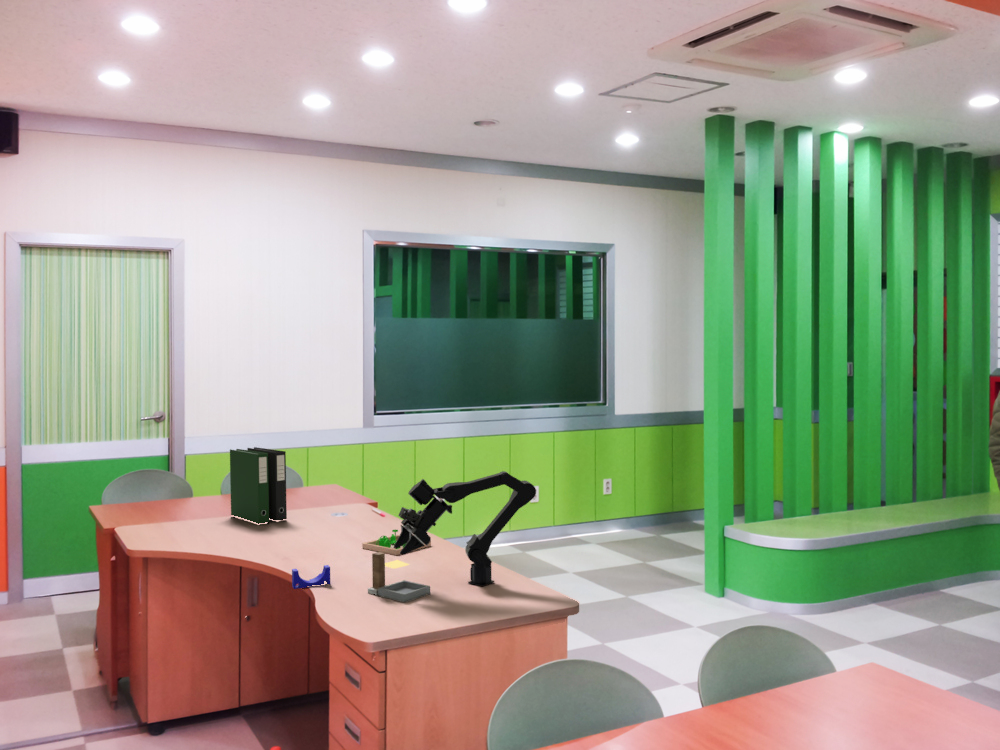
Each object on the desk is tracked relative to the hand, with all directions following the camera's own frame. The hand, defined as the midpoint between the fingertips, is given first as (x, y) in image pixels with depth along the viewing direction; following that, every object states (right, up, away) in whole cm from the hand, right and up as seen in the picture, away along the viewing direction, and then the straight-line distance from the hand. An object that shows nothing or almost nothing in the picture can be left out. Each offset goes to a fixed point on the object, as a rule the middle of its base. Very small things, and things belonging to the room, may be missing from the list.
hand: (397, 551), depth 275 cm
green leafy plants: (-8, -11, +61) cm, 63 cm away
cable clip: (-30, -13, +7) cm, 33 cm away
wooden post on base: (-6, -13, -2) cm, 14 cm away
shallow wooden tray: (-8, -11, +60) cm, 62 cm away
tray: (+3, -13, -5) cm, 14 cm away
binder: (-79, -10, +120) cm, 144 cm away
